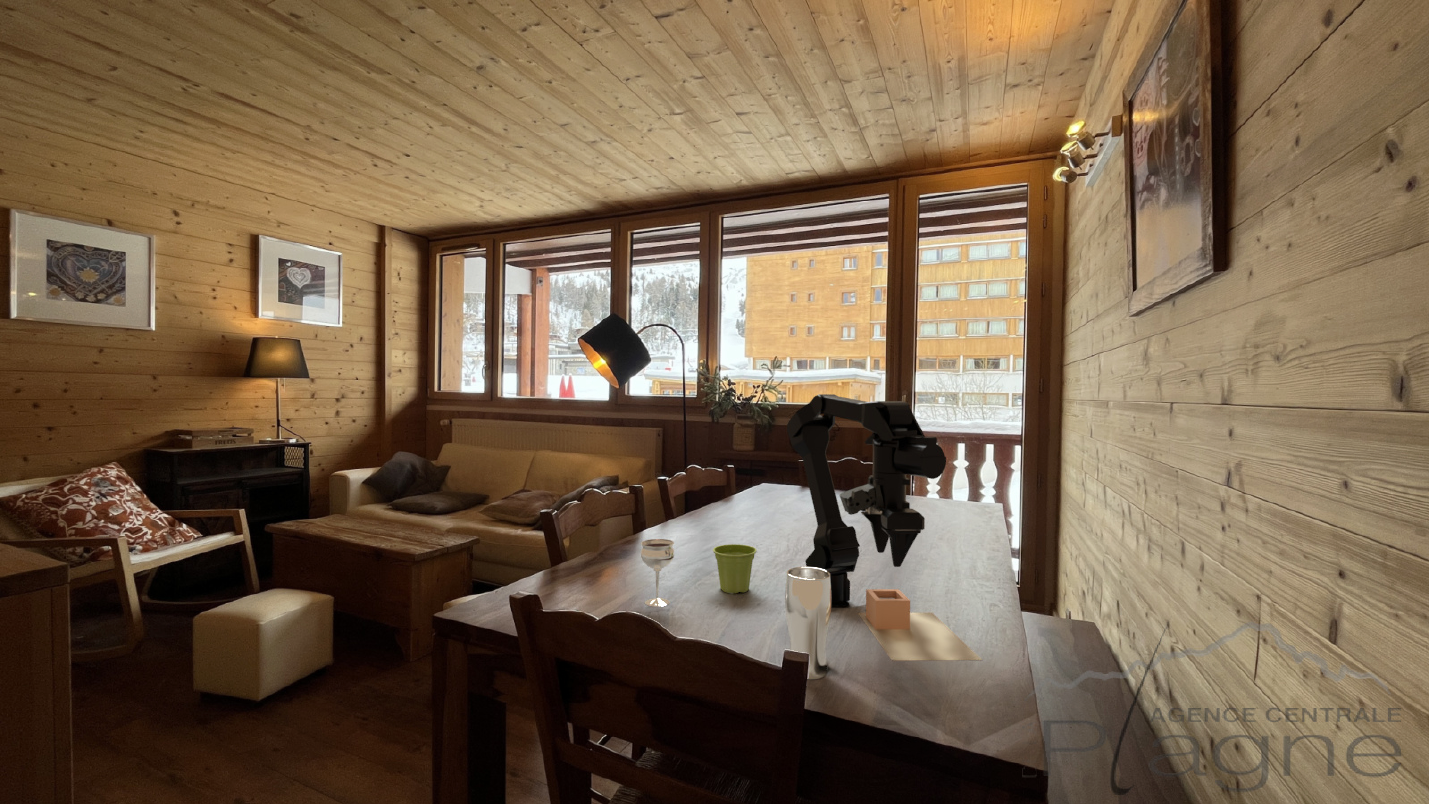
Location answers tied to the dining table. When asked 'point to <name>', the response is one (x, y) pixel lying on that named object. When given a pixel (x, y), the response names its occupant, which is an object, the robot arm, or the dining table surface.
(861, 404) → the robot arm
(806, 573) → the beer glass
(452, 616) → the dining table surface
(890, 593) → the collar
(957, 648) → the post board
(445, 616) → the dining table surface
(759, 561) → the dining table surface
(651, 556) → the wineglass
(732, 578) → the plant pot
